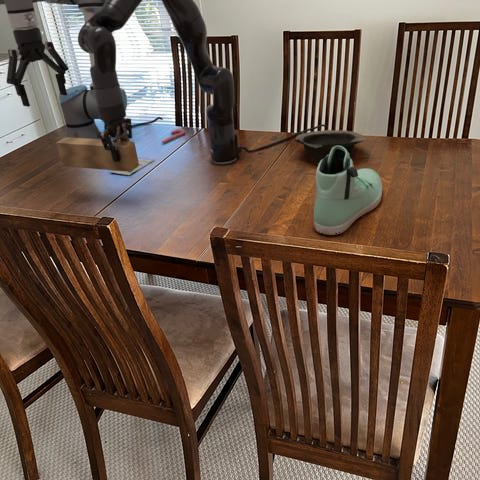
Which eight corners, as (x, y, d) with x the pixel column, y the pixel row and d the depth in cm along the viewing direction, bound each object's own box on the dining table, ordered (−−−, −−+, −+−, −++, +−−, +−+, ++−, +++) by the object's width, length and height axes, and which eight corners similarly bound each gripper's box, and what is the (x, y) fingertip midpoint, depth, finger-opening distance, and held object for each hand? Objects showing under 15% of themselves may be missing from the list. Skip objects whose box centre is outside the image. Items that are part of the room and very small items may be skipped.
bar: (62, 166, 152) (56, 142, 148) (72, 160, 156) (65, 137, 152) (131, 172, 144) (125, 147, 140) (139, 165, 148) (134, 141, 143)
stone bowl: (322, 174, 159) (321, 147, 155) (282, 157, 179) (280, 133, 175) (380, 156, 168) (380, 130, 163) (336, 142, 188) (335, 118, 184)
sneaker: (389, 187, 148) (396, 123, 138) (356, 242, 123) (361, 168, 112) (346, 181, 154) (350, 119, 144) (306, 232, 129) (307, 161, 118)
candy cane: (153, 142, 199) (153, 139, 199) (177, 131, 210) (176, 127, 209) (164, 144, 196) (163, 141, 196) (187, 133, 206) (187, 129, 206)
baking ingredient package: (109, 171, 174) (134, 157, 185) (109, 172, 174) (134, 158, 185) (129, 174, 170) (153, 159, 182) (129, 175, 170) (153, 160, 182)
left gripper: (-8, 35, 131) (16, 112, 142) (68, 21, 147) (85, 91, 159) (-22, 34, 135) (3, 109, 146) (54, 21, 152) (71, 89, 163)
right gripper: (106, 110, 129) (120, 168, 138) (134, 95, 141) (144, 150, 150) (83, 109, 132) (98, 166, 141) (112, 94, 143) (124, 148, 152)
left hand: (45, 100), depth 152 cm, fingers open, 13 cm apart
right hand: (122, 157), depth 145 cm, fingers closed on bar, 5 cm apart
